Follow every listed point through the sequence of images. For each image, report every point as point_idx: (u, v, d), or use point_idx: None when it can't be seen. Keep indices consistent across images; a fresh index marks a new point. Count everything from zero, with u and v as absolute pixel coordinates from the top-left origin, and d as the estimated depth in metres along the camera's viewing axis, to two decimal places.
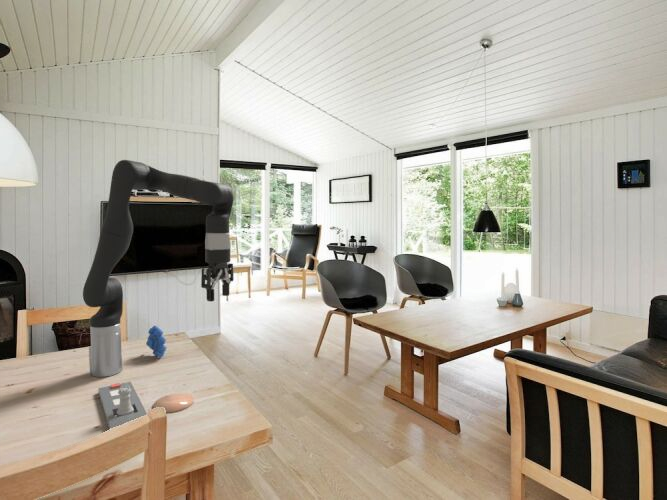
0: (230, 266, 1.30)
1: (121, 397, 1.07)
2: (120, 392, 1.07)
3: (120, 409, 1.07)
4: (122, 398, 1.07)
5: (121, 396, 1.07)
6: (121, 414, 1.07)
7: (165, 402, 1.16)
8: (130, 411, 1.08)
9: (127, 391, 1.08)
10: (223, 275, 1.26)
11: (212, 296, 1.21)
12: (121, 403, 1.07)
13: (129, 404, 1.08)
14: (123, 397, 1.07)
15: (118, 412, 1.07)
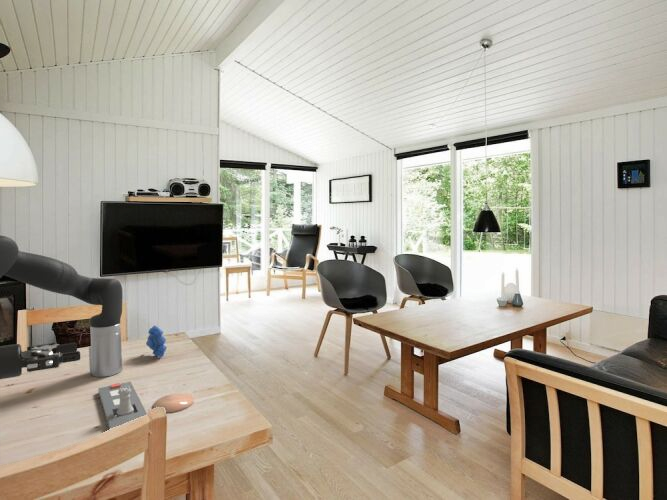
0: None
1: (121, 397, 1.07)
2: (120, 392, 1.07)
3: (120, 409, 1.07)
4: (122, 398, 1.07)
5: (121, 396, 1.07)
6: (121, 414, 1.07)
7: (165, 402, 1.16)
8: (130, 411, 1.08)
9: (127, 391, 1.08)
10: None
11: None
12: (121, 403, 1.07)
13: (129, 404, 1.08)
14: (123, 397, 1.07)
15: (118, 412, 1.07)
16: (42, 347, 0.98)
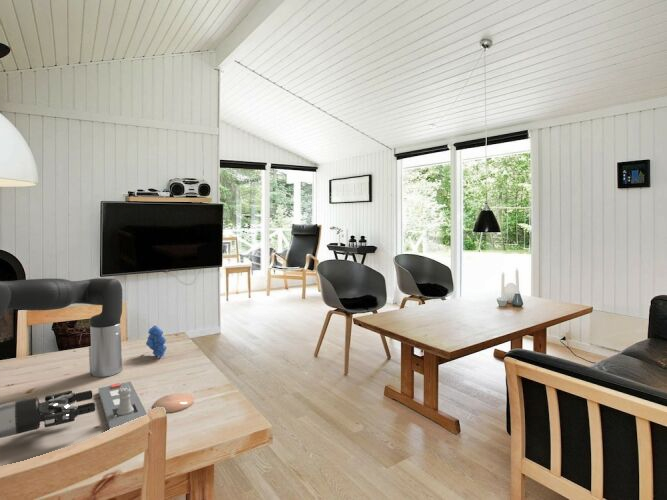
0: None
1: (121, 397, 1.07)
2: (120, 392, 1.07)
3: (120, 409, 1.07)
4: (122, 398, 1.07)
5: (121, 396, 1.07)
6: (121, 414, 1.07)
7: (165, 402, 1.16)
8: (130, 411, 1.08)
9: (127, 391, 1.08)
10: None
11: None
12: (121, 403, 1.07)
13: (129, 404, 1.08)
14: (123, 397, 1.07)
15: (118, 412, 1.07)
16: (59, 398, 1.01)
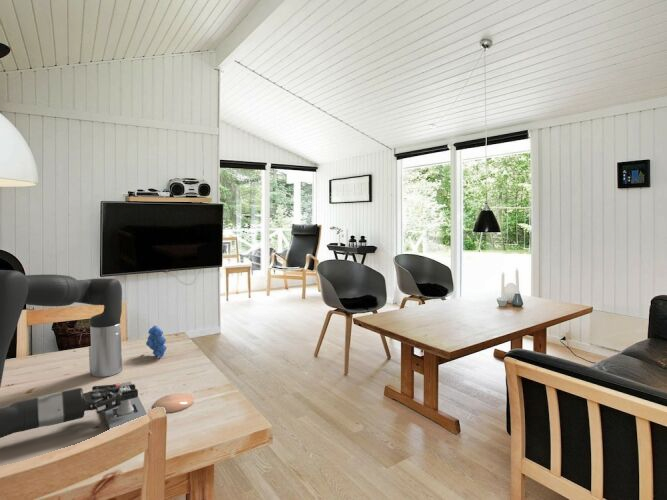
0: None
1: None
2: None
3: (120, 409, 1.07)
4: None
5: None
6: (121, 414, 1.07)
7: (165, 402, 1.16)
8: (130, 411, 1.08)
9: None
10: None
11: None
12: (121, 403, 1.07)
13: (129, 404, 1.08)
14: None
15: (118, 412, 1.07)
16: (101, 390, 1.06)
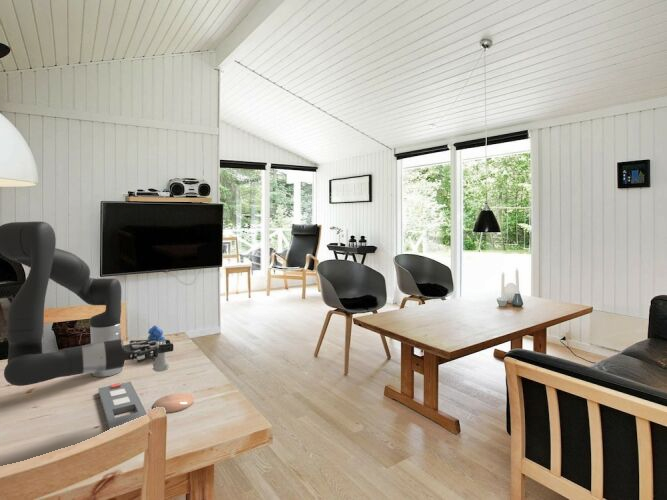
0: None
1: None
2: None
3: (156, 362, 1.12)
4: None
5: None
6: (157, 366, 1.11)
7: (165, 402, 1.16)
8: (166, 364, 1.13)
9: None
10: None
11: None
12: None
13: (165, 357, 1.13)
14: None
15: (154, 364, 1.12)
16: (139, 343, 1.11)
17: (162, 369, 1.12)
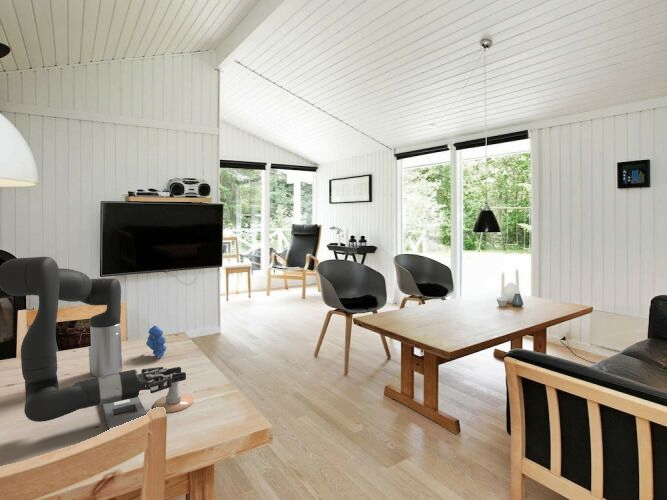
0: None
1: None
2: None
3: (169, 394, 1.15)
4: (172, 384, 1.15)
5: None
6: (170, 399, 1.14)
7: (165, 402, 1.16)
8: (178, 397, 1.15)
9: None
10: None
11: None
12: (170, 389, 1.15)
13: (177, 390, 1.16)
14: (173, 383, 1.15)
15: (167, 397, 1.14)
16: (152, 371, 1.14)
17: (175, 402, 1.14)
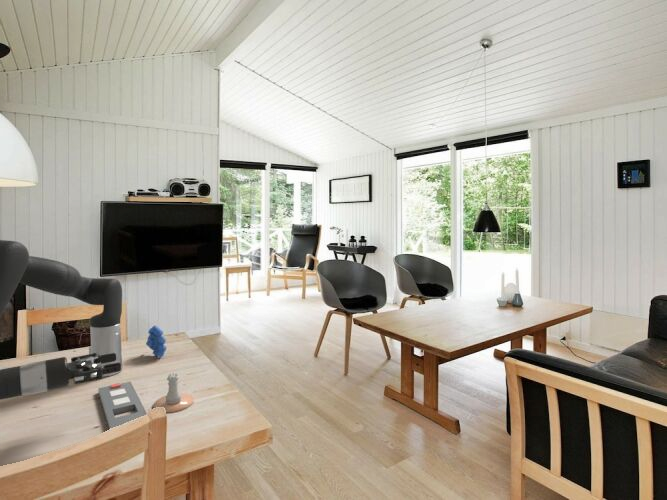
0: None
1: (170, 383, 1.15)
2: (169, 379, 1.14)
3: (169, 395, 1.15)
4: (171, 384, 1.15)
5: (170, 382, 1.15)
6: (170, 399, 1.14)
7: (165, 402, 1.16)
8: (178, 397, 1.15)
9: (175, 378, 1.15)
10: None
11: None
12: (170, 389, 1.15)
13: (177, 390, 1.16)
14: (172, 383, 1.15)
15: (167, 397, 1.14)
16: (85, 359, 1.05)
17: (174, 402, 1.14)
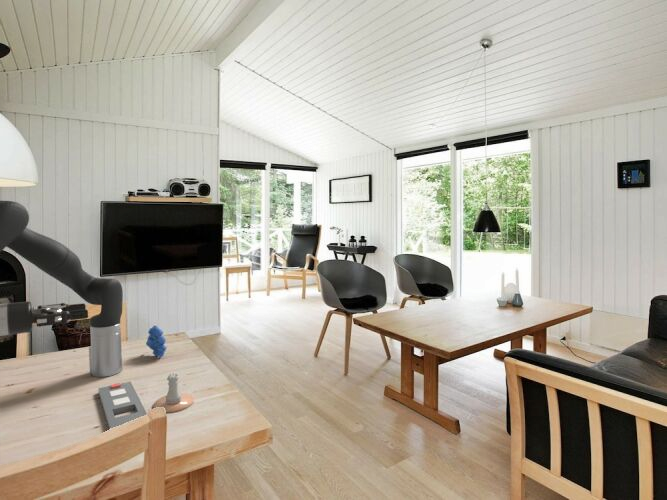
0: None
1: (170, 383, 1.15)
2: (169, 379, 1.14)
3: (169, 395, 1.15)
4: (171, 384, 1.15)
5: (170, 383, 1.15)
6: (170, 399, 1.14)
7: (165, 402, 1.16)
8: (178, 397, 1.15)
9: (175, 378, 1.15)
10: None
11: None
12: (170, 389, 1.15)
13: (177, 390, 1.16)
14: (172, 384, 1.15)
15: (167, 397, 1.14)
16: (52, 306, 1.01)
17: (174, 402, 1.14)
